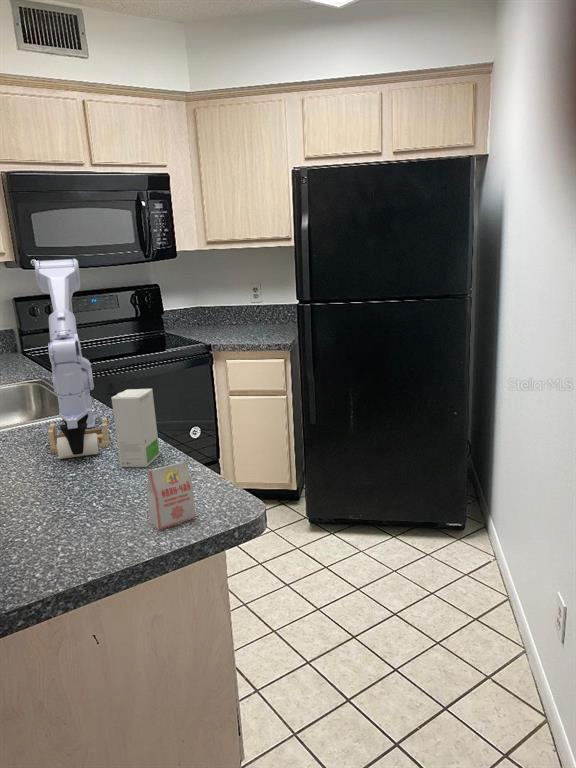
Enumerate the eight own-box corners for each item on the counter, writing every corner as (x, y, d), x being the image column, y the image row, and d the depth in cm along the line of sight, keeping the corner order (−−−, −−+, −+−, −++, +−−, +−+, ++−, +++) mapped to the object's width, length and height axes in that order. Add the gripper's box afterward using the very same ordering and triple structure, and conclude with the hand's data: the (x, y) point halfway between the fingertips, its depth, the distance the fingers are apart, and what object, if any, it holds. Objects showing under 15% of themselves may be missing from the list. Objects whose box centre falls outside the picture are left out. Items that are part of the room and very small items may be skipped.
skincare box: (146, 468, 128) (139, 397, 124) (117, 468, 129) (108, 397, 125) (160, 454, 136) (154, 387, 132) (133, 454, 137) (125, 387, 133)
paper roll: (57, 462, 134) (54, 441, 133) (59, 455, 138) (56, 435, 137) (99, 456, 136) (97, 436, 135) (100, 449, 141) (97, 430, 139)
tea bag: (150, 522, 103) (144, 467, 101) (186, 511, 107) (181, 458, 104) (158, 530, 100) (152, 474, 98) (195, 518, 104) (190, 464, 101)
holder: (53, 442, 147) (50, 423, 146) (108, 435, 151) (106, 416, 149) (50, 453, 140) (47, 432, 138) (108, 445, 143) (106, 425, 142)
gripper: (88, 397, 128) (96, 457, 131) (90, 383, 141) (97, 438, 145) (53, 401, 126) (62, 462, 129) (58, 386, 140) (66, 441, 143)
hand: (78, 449), depth 137 cm, fingers closed on paper roll, 5 cm apart
